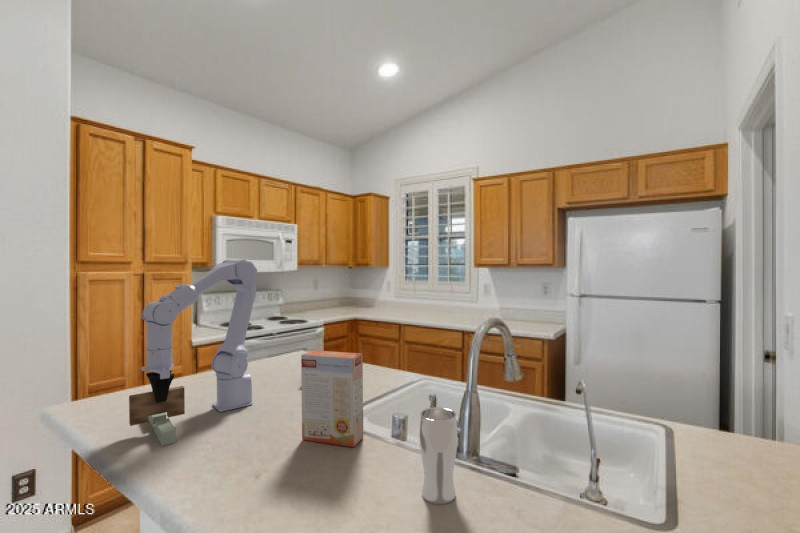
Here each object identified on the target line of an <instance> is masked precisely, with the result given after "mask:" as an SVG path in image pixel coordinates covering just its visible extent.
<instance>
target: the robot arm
mask: <svg viewBox="0 0 800 533" xmlns="http://www.w3.org/2000/svg"><path fill="white" fill-rule="evenodd" d="M257 272H258V269H257V267H256V266H255V264H254V263H253V261H251V260H249V259H246V258H245V259H225V260H223V261H222V262H220V263H218V264H216V265H215V266H214V267H213V268H212V269H210V270H209V271H207V273H204V274H203V275H201V277H200V278H198V279H197V280H195V281H194V282H192V283H190V284H187V283H183V284H177V285H176V286H174V288H175V289H174V290H172V291H171V292H169V293H167V294H165V295H161V296H159V300H158V301H151V302H149V303H147V304H146V305H145V307H144V309H143V310H142V312H141V313H140V314H141V318H142V320H143V321H144V322H145V323H146V366H145V365H144V366H142V367H141V371H142V372H146V371H147V373H146V374H145V375H146V378H148V380H149V383H150V386H151V387H150V388H151V392H152V391H154V395H155V399H156V402H157V403H160V402H166V400H167V396H168V391H169V388H171V384H172V382H173V380H174V378H175V376H176V375H175V373H172V369H173V368H174V367H175V364H174V362H173V361H174V356H173V354H174V353H173V352H174V351H173V349H174V348H173V322H175V321H176V319H177V317H178V314H180V313H181V312H183V311H184V310H186V309H188V308H189V307H190V306H191V305H193V304H194V303H196V302H197V301H198V299H199V295H201V293H203V292H205V291H206V290H208V289H209V288H212V287H213V286H215V285H217V284H218V283H220V282H221V281H225V282H227V283H229V284H230V285H231V286H232V287H233V288H234V290H235V291H236V295H235V298H234V303H233V305H232V306H233V307H232V311H231V315H230V319H229V324H228V326H227V327H228V328H227V331H226V334H225V335H226V336H225V339H224V342H223V343H222V344H221V345H220V346H219V347H217V351H216V354H214V356H213V358H212V360H211V363H210V364H211V369H212V370H213V372H215V376H216V402H213V403H212V406H213V407H214V408H215V409H216V410H218V412H220V413H221V412H222V413H223V412H226V411H230V410H234V409H235V410H236V409H238V408H243V407H247V406H252V405H253V403H254V402H253V395H252V394H253V385H252V378H251V375H250V374H249V373H248V372H246V371H247V370H248V365H249V362H248V354H249V352H248V350H247V348H246V347H245V341H246V335H247V332H248V329H249V328H248V327H249V323H250V320H251V315H252V312H253V307H254V302H255V298H256V293H257V291H258V290H257V288H258V287H257V281H256V280H257V279H256V277H257ZM245 372H246V373H245Z"/></svg>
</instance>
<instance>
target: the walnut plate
mask: <svg viewBox="0 0 800 533" xmlns="http://www.w3.org/2000/svg"><path fill="white" fill-rule="evenodd" d="M185 401H186V400H185V387H184V386H183V385H180V386H175V387H169V391H168V396H167V400H166V402H160V403H157V402H156V399H155V395H154V391H152V390H151V391H148V392H142V393H136V394H131V395H129V396H128V409H129V410H128V412H129V414H128V415H129V416H128V418H129V420H128V421H129V423H128V424H129V426H130V427H133V426H136V425H140V424H145V423H149V420H148V416H151V415H156V414H161V413H166V417H167V418H169V419H170V418H172V417H177V416H182V415H185V413H186V412H185V411H186V410H185V407H186V406H185V404H186V403H185Z"/></svg>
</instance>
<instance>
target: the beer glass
mask: <svg viewBox="0 0 800 533" xmlns="http://www.w3.org/2000/svg"><path fill="white" fill-rule="evenodd" d="M419 418H420V419H419V420H420V421H419V433H418V434H419V435H418V437H419V448H420V455H421V460H422V466H423V467H422V468H423V477H424V478H423V485H422V489H421V494H422V495H421V496H422V498H423V499H424V500H425V501H426V502H428V503H431V504H434V505H447V504H449V503H451V502H453V501H454V500H455V498H456V491H455V490H456V489H455V484H454V483H455V482H454V468H455V464H456V463H455V462H456V458H457V450H458V425H457V414H456V412H455V411H454V410H452V409H450V408H447V407H441V406H439V407H438V406H437V407H435V406H434V407H428V408H424V409H422V410H421V412H420V417H419Z"/></svg>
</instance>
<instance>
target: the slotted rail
mask: <svg viewBox="0 0 800 533" xmlns="http://www.w3.org/2000/svg"><path fill="white" fill-rule="evenodd" d="M148 423H149V424H150V426H151V427H152V430H153V431H154V433H155V435H156V438H157V439H158V442H159V443H160V446H162V447H163V446H166V445H171V444H175V443H177V428H175V426H174V424H173V422H172V421H171V420H170V417H169V418H168V417H167V412H165V413H161V414H156V415H151V416H148Z"/></svg>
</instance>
